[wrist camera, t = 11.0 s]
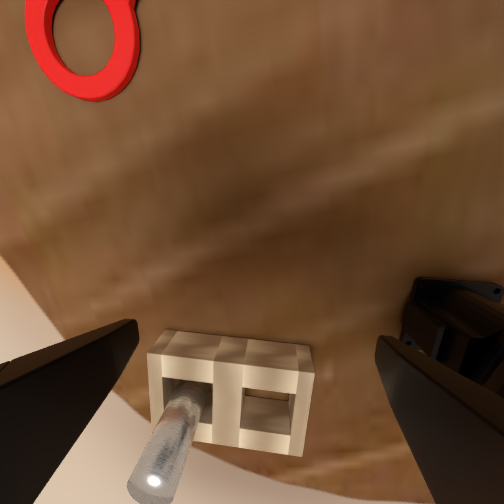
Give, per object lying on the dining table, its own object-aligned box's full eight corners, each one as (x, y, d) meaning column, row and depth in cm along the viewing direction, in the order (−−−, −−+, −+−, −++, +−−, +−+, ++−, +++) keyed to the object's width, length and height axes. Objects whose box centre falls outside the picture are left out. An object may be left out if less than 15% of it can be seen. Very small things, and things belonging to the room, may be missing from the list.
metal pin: (214, 360, 24) (173, 477, 14) (214, 385, 24) (174, 511, 15) (185, 357, 24) (125, 469, 14) (186, 381, 25) (129, 503, 15)
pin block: (308, 345, 22) (314, 373, 19) (298, 420, 25) (301, 456, 21) (165, 329, 23) (146, 352, 20) (168, 402, 26) (152, 434, 22)
